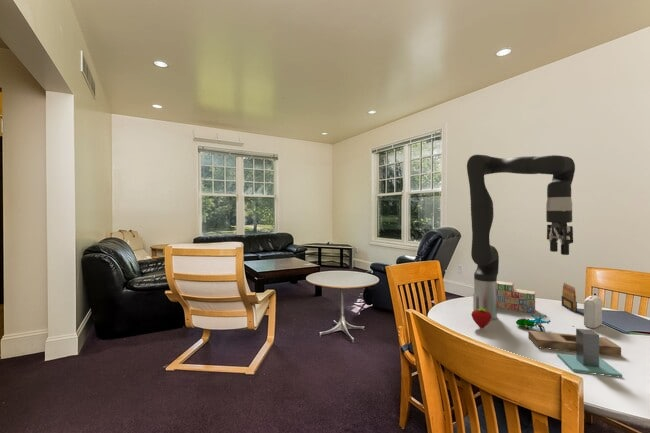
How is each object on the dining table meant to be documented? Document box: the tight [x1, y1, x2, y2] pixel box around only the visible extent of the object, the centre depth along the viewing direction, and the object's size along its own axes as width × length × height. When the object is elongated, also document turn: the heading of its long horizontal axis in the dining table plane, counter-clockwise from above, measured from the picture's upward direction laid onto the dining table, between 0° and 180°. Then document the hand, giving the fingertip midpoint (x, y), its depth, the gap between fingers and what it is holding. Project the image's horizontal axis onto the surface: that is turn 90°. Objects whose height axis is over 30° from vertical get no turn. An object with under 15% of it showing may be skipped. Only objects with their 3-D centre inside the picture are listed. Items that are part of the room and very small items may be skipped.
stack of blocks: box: [497, 280, 536, 314], centre depth 147 cm, size 21×6×12 cm, turn 50°
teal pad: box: [556, 353, 623, 378], centre depth 91 cm, size 12×10×1 cm
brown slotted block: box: [527, 330, 622, 357], centre depth 104 cm, size 24×8×3 cm, turn 73°
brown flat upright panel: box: [561, 282, 578, 313], centre depth 144 cm, size 11×2×12 cm, turn 164°
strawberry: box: [471, 304, 492, 329], centre depth 121 cm, size 6×8×10 cm
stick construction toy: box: [515, 313, 551, 332], centre depth 119 cm, size 12×7×8 cm
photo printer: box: [583, 295, 603, 329], centre depth 123 cm, size 10×4×12 cm, turn 123°
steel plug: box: [575, 328, 600, 367], centre depth 91 cm, size 4×4×10 cm
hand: (559, 253), depth 108 cm, fingers open, 8 cm apart
